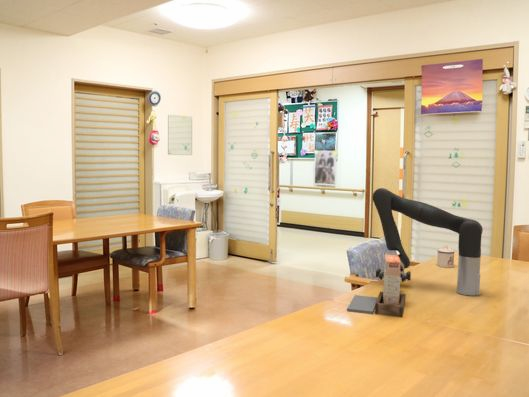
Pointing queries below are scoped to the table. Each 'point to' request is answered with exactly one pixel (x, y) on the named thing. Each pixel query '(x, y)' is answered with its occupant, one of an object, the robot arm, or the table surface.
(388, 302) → the cracker box
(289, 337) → the table surface
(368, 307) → the flat gray rectangular board
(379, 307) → the walnut collar
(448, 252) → the teacup with lid
